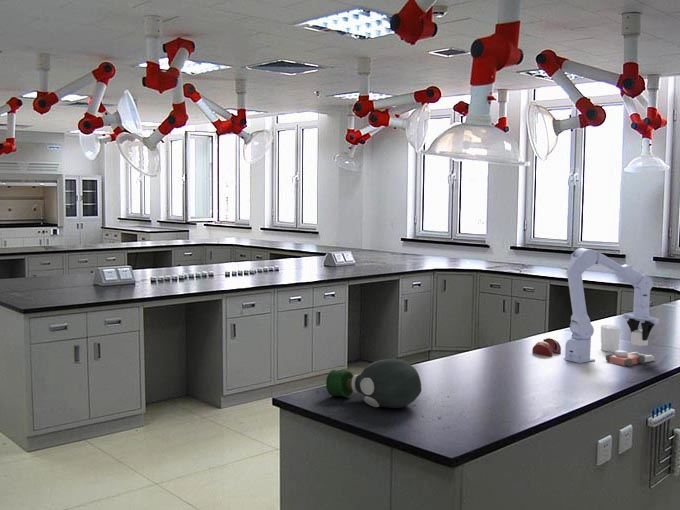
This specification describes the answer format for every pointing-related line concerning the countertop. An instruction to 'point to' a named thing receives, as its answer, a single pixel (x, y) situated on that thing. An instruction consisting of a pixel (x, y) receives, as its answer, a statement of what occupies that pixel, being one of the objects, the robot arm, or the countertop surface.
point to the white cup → (610, 337)
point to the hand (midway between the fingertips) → (639, 339)
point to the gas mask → (379, 383)
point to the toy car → (628, 358)
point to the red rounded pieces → (547, 347)
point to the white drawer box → (638, 338)
